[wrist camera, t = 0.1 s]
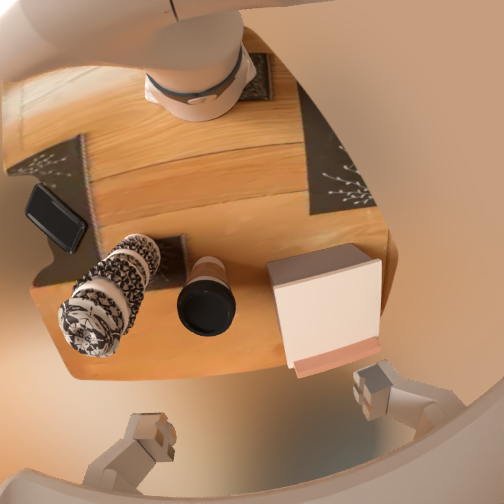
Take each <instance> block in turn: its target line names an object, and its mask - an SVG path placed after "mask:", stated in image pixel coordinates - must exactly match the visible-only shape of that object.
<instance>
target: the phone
mask: <svg viewBox="0 0 504 504" xmlns="http://www.w3.org/2000/svg"><path fill="white" fill-rule="evenodd" d="M25 214H26V216H27V217H28V218H29V219H30V220H31V221H32V222H33V223H34V224H35V225H36V226H37V227H38V228H39V229H40V230H41V231H43V232H44V233H45V234H46V235H47V236H48V237H49V238H50V239H51V240H52V241H53V242H55V243H56V244H57V245H58V246H59V247H60V248H62V249H63V250H64V251H65V252H66V253H68V254H71V253H73V252H74V250H75V248H76V246H77V244H78V242H79V240H80V238H81V236H82V234H83V232H84V230H85V228H86V224H85V222H84V221H83V220H82V219H81V218H80V217H78V216H77V215H76V214H75V213H74V212H72V210H70V209H69V208H68V207H67V206H65V205H64V204H63V203H62V202H61V201H60V200H59V199H57V198H56V197H55V196H54V195H53V194H52V193H51V192H50V191H48V190H47V189H46V188H45V187H44V186H43V185H42V183H39V184H36V185H35V186H34V188H33V191H32V193H31V196H30V198H29V201H28V203H27V206H26V209H25Z"/></svg>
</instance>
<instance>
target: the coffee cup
mask: <svg viewBox="0 0 504 504" xmlns="http://www.w3.org/2000/svg"><path fill="white" fill-rule="evenodd" d="M177 310H178V315H179V318H180V320H181V322H182V324H183V325H184V326H185V327H186V328H187V329H188V330H190V331H191V332H193V333H195V334H197V335H200V336H216V335H219V334H221V333H223V332H225V331H226V330H227V329H228V328H229V326H230V325H231V323H232V320H233V318H234V315H235V311H236V302H235V298H234V296H233V294H232V292H231V288H230V285H229V281H228V278H227V275H226V271H225V267H224V265H223V263H222V262H221V261H220V260H219V259H217V258H215V257H212V256H205V257H202V258H200V259H199V260H197V262H196V263H195V264H194V266H193V269H192V271H191V273H190V275H189V277H188V279H187V281H186V283H185V285H184V287H183V289H182V291H181V292H180V294H179V296H178V300H177Z"/></svg>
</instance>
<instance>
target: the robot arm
mask: <svg viewBox="0 0 504 504" xmlns="http://www.w3.org/2000/svg"><path fill="white" fill-rule="evenodd" d="M324 1H333V0H0V80H2V81H6V82H21V81H24V80H27V79H30V78H32V77H35V76H38V75H42V74H45V73H48V72H52V71H56V70H60V69H65V68H72V67H81V66H112V67H123V68H132V69H139V70H143V71H144V75H146V80H145V98H146V99H147V101H149V102H151V103H154V104H158V105H161V106H163V107H164V108H165V109H167V110H168V111H169V112H170V113H171V114H173V115H174V116H176V117H178V118H180V119H183V120H187V121H195V122H197V121H207V120H211V119H214V118H217V117H219V116H221V115H223V114H224V113H226V112H227V111H228V110H230V109H231V108H232V107H233V106H234V105H235V103H236V102H237V101H238V99H239V97H240V95H241V93H242V91H243V89H244V87H245V86H246V85H247V84H248V83H249V82H250V81H252V80H253V79H254V77H255V76H256V68H255V66H254V64H253V62H252V60H251V58H250V56H249V54H248V52H247V50H246V48H245V47H244V45H243V43H242V37H243V30H244V25H243V20H242V17H241V14H240V12H239V10H241V9H252V8H264V7H287V6H293V5H300V4H308V3H316V2H324ZM353 378H354V380H355V384H354V385H353V389H354V395H355V398H356V401H357V402H358V404H359V405H362V406H363V413H364V414H365V416H366V418H367V420H368V421H370V420H373V419H376V418H378V417H381V416H383V415H385V414H386V415H387V416H389V417H391V418H393V419H395V420H397V421H399V422H401V423H403V424H405V425H407V426H410V427H412V428H414V429H416V430H417V431H416V434H415V436H414V439H413V441H411V442H409V443H408V444H406V445H404V446H402V447H400V448H398V449H396V450H393V451H391V452H389V453H387V454H385V455H383V456H380V457H378V458H376V459H373V460H371V461H369V462H366V463H364V464H361V465H359V466H357V467H353V468H351V469H348V470H345V471H342V472H339V473H336V474H333V475H330V476H327V477H323V478H320V479H316V480H312V481H309V482H305V483H301V484H297V485H293V486H288V487H283V488H278V489H273V490H267V491H262V492H255V493H247V494H239V495H231V496H230V495H229V496H216V497H160V496H146V495H143V494H142V493H141V492H140V491H138V490H137V489H136V487H137V486H138V485H139V484H140V483H141V481H142V480H143V479H144V478H145V477H146V475H147V474H148V473H149V472H150V470H151V469H152V468H153V467H154V465H155V464H156V462H173V460H174V453H175V450H174V449H173V447H172V446H173V445H174V444H175V443H176V431H175V429H174V427H173V425H172V424H171V423H169V422H167V419H168V418H167V416H166V415H165V413H138V414H137V413H135V414H134V413H133V414H132V415H131V417H130V419H129V422H128V425H127V428H126V431H125V435H124V438H123V439H120V440H119V441H118V442H116V443H115V444H114V445H113V446H112V447H111V448H109V449H108V450H107V451H106V452H104V453H103V454H102V455H101V456H100V457H98V458H97V459H96V460H95V461H94V462H92V463H91V464H90V465H89V466H88V469H87V472H86V475H85V477H84V480H83V483H82V485H81V484H77V483H73V482H70V481H66V480H63V479H59V478H56V477H53V476H50V475H47V474H44V473H42V472H39V471H36V470H34V469H30V468H24V469H22V470H20V471H18V472H16V473H15V474H13V475H12V476H10V477H8V478H7V479H5V480H4V482H3V483H2V485H1V486H0V504H504V377H503V378H502V379H501V380H500V381H498V382H497V383H496V384H495V385H494V386H493V387H491V388H490V389H489V390H488V391H487V392H486V393H484V394H483V395H482V396H480V397H479V398H478V399H477V400H475V401H474V402H473V403H472V404H470V405H469V406H467V407H466V406H465V405H464V404H463V402H461V400H460V399H459V398H458V397H457V396H456V395H455V394H454V393H453V392H452V391H450V390H446V389H443V388H438V387H435V386H431V385H427V384H424V383H420V382H417V381H413V380H410V379H406V380H404V378H403V377H402V376H401V375H400V374H399V373H398V372H397V370H396V369H395V368H394V367H393V366H392V364H391V363H390V362H389V361H388V360H386V359H384V360H382V361H380V362H377V363H376V364H372V365H370V366H367V367H365V368H362V369H360V370H357V371H354V375H353Z"/></svg>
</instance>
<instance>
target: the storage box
mask: <svg viewBox="0 0 504 504" xmlns="http://www.w3.org/2000/svg"><path fill="white" fill-rule="evenodd" d="M372 260H373V259H372V258H370V257H369V256H368V255H366V254H365V253H364V252H362V251H361V250H360V249H358V248H357V247H356V246H354V245H353V244H352V243H348V244H343V245H339V246H335V247H331V248H327V249H323V250H319V251H315V252H311V253H306V254H302V255H298V256H294V257H290V258H286V259H281V260H277V261H273V262H269V263H266V264H267V269H268V275H269V280H270V285H271V290H272V295H273V300H274V305H275V310H276V316H277V321H278V326H279V331H280V334H281V337H282V331H281V326H280V321H279V315H278V310H277V305H276V299H275V294H274V289H273V286H277V285H281V284H285V283H289V282H293V281H297V280H301V279H305V278H309V277H313V276H316V275H320V274H324V273H328V272H332V271H335V270H339V269H343V268H346V267H350V266H354V265H357V264H361V263H365V262H368V261H372ZM282 340H283V337H282ZM283 343H284V342H283Z"/></svg>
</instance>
